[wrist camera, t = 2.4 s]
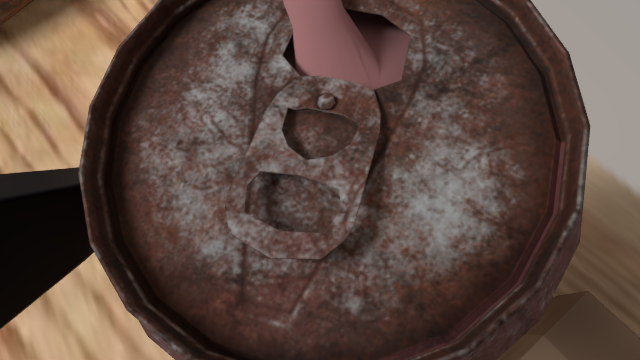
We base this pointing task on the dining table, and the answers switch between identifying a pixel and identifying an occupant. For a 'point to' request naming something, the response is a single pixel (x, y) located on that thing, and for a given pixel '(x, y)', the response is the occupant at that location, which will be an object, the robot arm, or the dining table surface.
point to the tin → (11, 8)
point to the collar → (576, 333)
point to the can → (336, 177)
